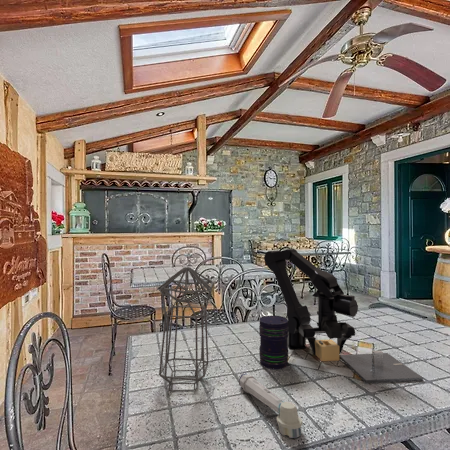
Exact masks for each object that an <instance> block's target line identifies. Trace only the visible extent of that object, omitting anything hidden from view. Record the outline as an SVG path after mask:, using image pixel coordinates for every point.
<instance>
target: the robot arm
mask: <svg viewBox="0 0 450 450" xmlns="http://www.w3.org/2000/svg"><path fill="white" fill-rule="evenodd" d="M263 260H264V262H265V264H266V266H267V268H268V269H269V270H270V271H271V272H272V273H273V274H274V277H275V279H276V282H277V283H278V287H279V290H280V291H281V293H282V294H281V295H282V296H283V299H284V302H285V304H286V308H287V309H286V318H287V319H288V338H287V347H288V350H289V349H290V350H294V349H295V350H297V349H298V350H299V349H307V346H306V344H307V341H308V344H309V346H310V347H309V348H310V349H311V351H312V354H313V355H314V356H316V354H315V353H316V350H315V340H317V339H316V334H326V336H327V338H328V339H329V340H331V339H332V340H333V339H336V340H337V341H336V342H337V343H336V344H337V345H339V355H342V354H341V353H342V352H343V348H344V346H345V343H346V342H347V340H349V339H351V338H352V337H355V336H356V329H355V327H354V326H352V325H350V324H349V323H347V322H346V321H345V322H338V317H337V315H336V314H338V315H344V316H348V317H352V318H355V316H356V315H358V310H359V305H358V301H357V300H356V299H355V298H356V297H355V296H354V295H350V294H349V295H347V294H345V292H344V290H343V289H342V287H341V286H340V285H339V283H338V278H337V277H335V275H333V274H331V273H329V272H327V271H325V270H322V269H320V268H318V267H317V266H315V264H313V263H312V262H310V260H308V259H307V258H305V257H304V256H303V255H301V253H300V252H298V250H296V249H295V248H286V249H284V250H268V251H267V252H265V253H264V257H263ZM287 260H288V261H289V262H290V263H291V264H293V265H294V266H295V267H296V268H297V269H298V270H300V271H301V272H302V273H303V274H304V275H306V276H307V277H308V278H309V280H310V282H311V285H312V286H313V287H314V288H315V289H316V291H315V292H314V293H313V294H312V297H314V298H315V297H316V298H317V305H318V308H317V311H316V315H317V316H318V317H317V318H318V319H317V320H318V321H317V323H316V326H317V327H316V326H315V327H314V326H312V325H311V321H312V319H311V315H312V314H311V313H310V311H309V308H308V306H307V305H306V304H305V305H303V304H302V303H300V301H299V299H298V296H297V294H296V292H295V289H294V287H293V284H292V282H291V279H290V276H289V274H288V271H287V270H286V265H287ZM306 340H307V341H306Z"/></svg>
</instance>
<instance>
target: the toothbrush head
mask: <svg viewBox="0 0 450 450" xmlns="http://www.w3.org/2000/svg"><path fill="white" fill-rule="evenodd" d="M238 386H240V387H241V388H242V390H243V391H244V392H245V393H246V394H249V395H251V396H253V397H254V398H256V399H257V400H258V401H260V402H261V403H263V404H264V405H266V406H267V407H269V408H270V409H272V410H273V411H274V412H275V413H277V416H276V422H277V424H278V430H279V433H280V434H281V435H282V436H288V437H289V438H290V439H291V438H293V439H297V438H298V437H301V435H302V434H303V433H302V426H303V420H302V417H300V416H299V413H298V408H297V406H296V405H295V404H294V403H293V402H290V401H284V400H283V399H281V398H280V397H279V396H278V395H276V394H275V393H273V391H272V390H270V389H268V388H267V387H266V386H265V385H263V384H262V383H260V382H259V381H258V380H257V379H256V377H255V376H254V375H249V374H248V373H244V374H241V375H240V376H239V378H238Z"/></svg>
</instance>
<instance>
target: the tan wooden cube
mask: <svg viewBox="0 0 450 450" xmlns="http://www.w3.org/2000/svg"><path fill="white" fill-rule="evenodd" d="M315 350H316V353H315V356H317V358H318V359H319V360H320V361H321V362H335V361H339V362H340V358H339V355H340V354H339V345H337V343H336V342H335V341H334V340H333V339H315Z"/></svg>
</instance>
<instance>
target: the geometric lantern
mask: <svg viewBox="0 0 450 450" xmlns="http://www.w3.org/2000/svg"><path fill="white" fill-rule="evenodd" d="M189 274H190V276H191V278H192V279H193V282H192V281H190V282H189V280H190V279H189V277H190V276H189ZM179 276H180V278H179V280H176V279H177V278H178V277H179ZM184 277H185V278H184ZM183 279H185V280H184V281H183ZM171 283H173V284H174V285H176V288H175V289H174V288H169V286H170V285H171ZM181 284H183V285H184V287H183V286H182V285H181ZM209 284H210V285H209ZM189 285H195V289H194V290H189ZM198 285H199V286H200V288H198ZM213 287H214V281H213V280H211V279H209V278H208V277H205V276H204V275H202V274H201V273H199V272H198V271H196V270H195V269H193V268H192V267H191V266H184V267H183V268H181V269H180V270H179V271H177V272H176V273H174V274H173V275H172V276H170V277H169V278H168V279H167V280H165V282H164V283H163V284H161V285H159V286H158V287H157V288H156V290H157V291H159V292H160V293H161V295H162V301H163V313H164V323H163V332H162V333H163V334H162V341H161V350H160V351H161V352H160V358H159V359H160V361H159V362H160V363H159V372H158V376H159V377H160V378H161V379H163V380H164V381H166V382H167V383H168V388H167V390H168V391H170V392H195V391H196V390H198V389H199V388H198V387H199V382H200V381H201V380H202V379H203V378H205V377H206V373H207V369H208V365H209V346H208V343H209V342H208V339H209V338H208V322H207V321H208V318H207V316H208V315H207V308H208V304H209V300H210V298H211V296H212V291H213ZM179 288H180V289H182V290H178V289H179ZM169 291H170V292H174V296H173V295H172V294H171V293H170V292H169ZM177 293H179V294H181V293H182V294H183V295H182V296H181V298H180V299H178V297H177ZM204 293H208V294H207V297H206V298H205V300H204V302H203V304H202V302H201V300H200V298H199V296H200V295H202V294H204ZM187 294H195V295H193V296H191V297H189V298H187ZM165 297H167V298H168V300H169V302H170V304H171V306H170V307H169V308H168V309H166V299H165ZM195 298H197V299H198V302H199V303H200V305H201V306H197V305H196V306H193V305H191V304H190V302H189V301H191V300H192V299H195ZM171 299H173V300H174V301H175V302H174V304H173V302H172V300H171ZM185 302H186V303H187V305H180V304H181V303H185ZM176 303H177V305H176ZM175 308H176V315H174V309H175ZM179 308H189V309H190V310H191V312H192V314H193V316H191V315H179ZM193 308H195V309H196V308H197V309H199V308H200V309H201V312H200V315H197V313H196V312H195V311H194V309H193ZM169 314H170V315H169ZM173 318H175V329H174V330H175V331H174V333H175V334H174V345H173V346H174V349H173V358H169V357H170V349H171V337H172V329H173V328H172V327H173V326H172V325H173ZM179 318H190V319H195V321H194V322H195V358H186V357H185V358H183V357H181V358H180V357H176V356H177V355H176V352H177V351H176V349H177V336H178V325H179V324H178V321H179ZM198 318H200V320H201V321H200V323H201V326H200V327H201V340H200V341H201V342H200V343H201V346H200V347H201V352H200V358H198V353H199V352H198V346H199V345H198ZM169 322H170V323H169ZM204 328H205V329H204ZM204 330H205V339H204ZM204 340H205V341H204ZM164 347H165V353H164ZM205 349H206V350H205ZM205 351H206V354H205ZM164 354H165V358H164V357H163V356H164ZM205 356H206V360H205ZM163 358H164V365H163ZM171 361H172V362H173V369H172V367H171V364H170V362H171ZM175 361H192V362H193V361H194V362H195V369H176V363H175ZM201 363H202V366H201V368H200V365H201ZM167 366H168V367H169V369H170V371H171V373H170V376H168V373H167V372H168V371H167V369H168V367H167ZM199 368H200V369H199ZM200 371H202V375H201V376H200V375H199V373H200ZM163 372H164V374H162V373H163ZM177 372H194V375H176V374H177ZM172 380H186V381H194V382H177V381H176V382H175V381H174V382H172ZM173 385H193V389H174V388H173V387H174V386H173Z"/></svg>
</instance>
